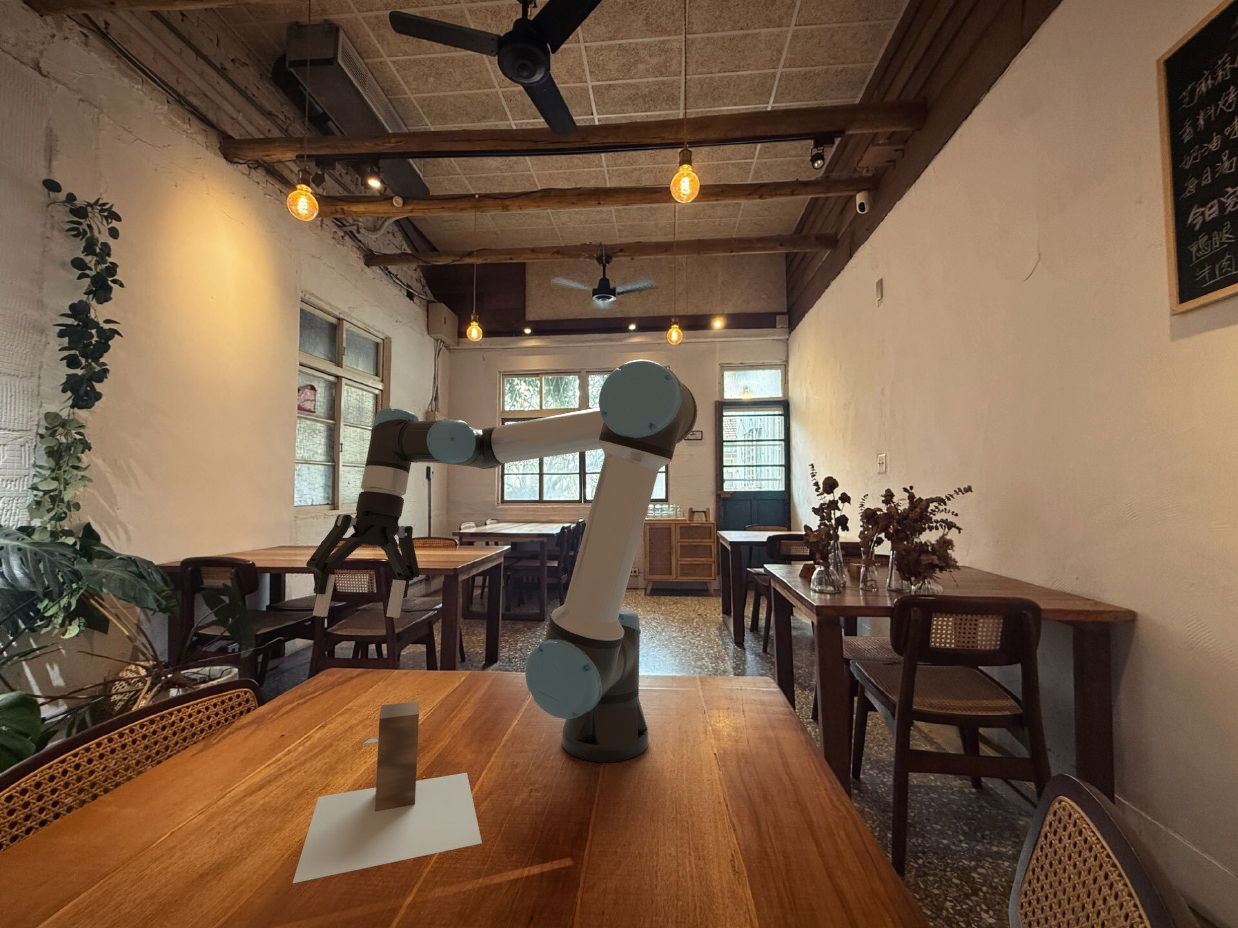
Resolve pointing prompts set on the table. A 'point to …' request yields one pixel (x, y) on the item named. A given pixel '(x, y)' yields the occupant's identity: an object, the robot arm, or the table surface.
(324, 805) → the mat
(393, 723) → the walnut block
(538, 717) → the table surface
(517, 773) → the table surface
